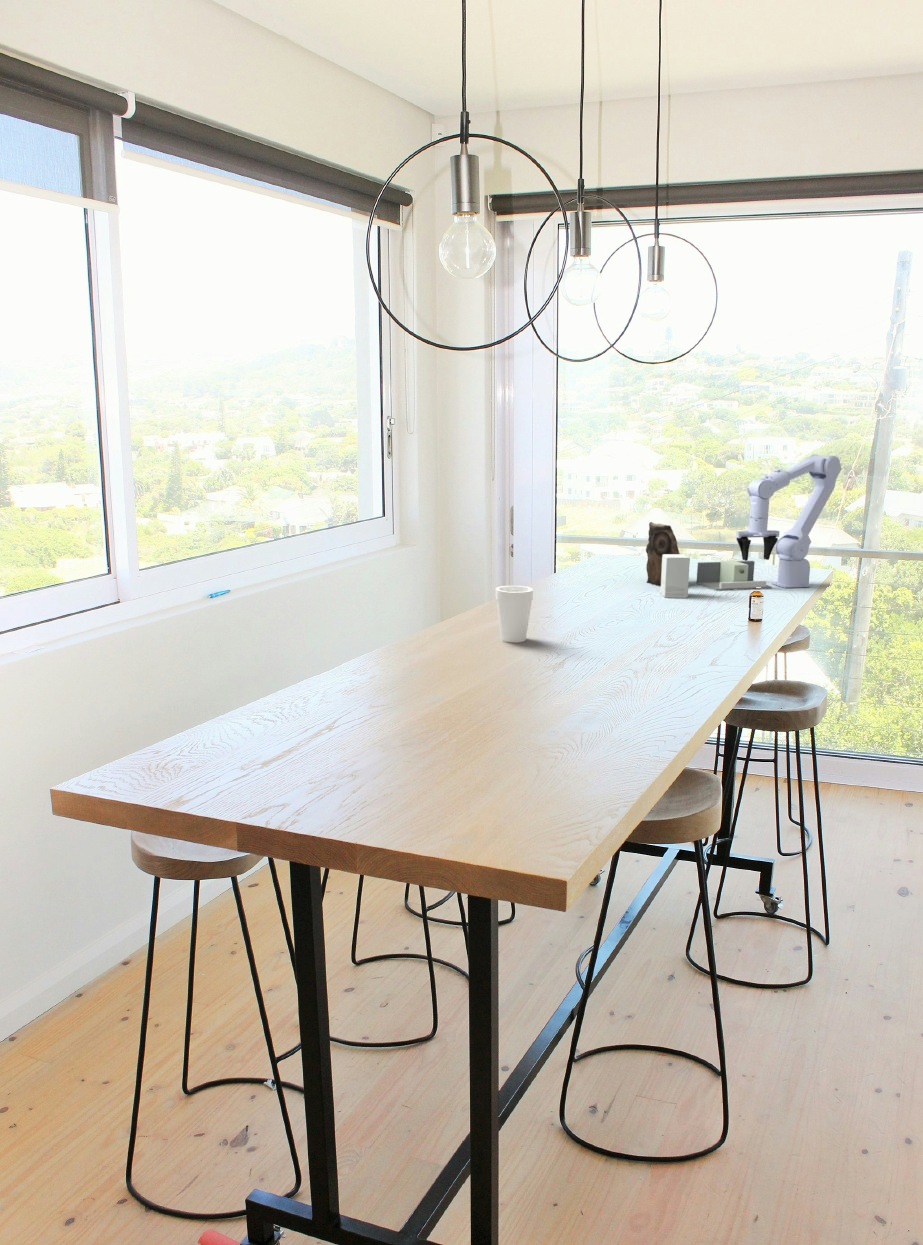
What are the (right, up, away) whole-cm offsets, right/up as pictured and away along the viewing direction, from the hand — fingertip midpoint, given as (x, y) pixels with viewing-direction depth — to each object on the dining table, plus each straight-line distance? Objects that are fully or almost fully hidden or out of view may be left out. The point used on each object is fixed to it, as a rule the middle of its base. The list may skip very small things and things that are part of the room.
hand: (755, 559), depth 328 cm
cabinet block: (-5, -8, +7) cm, 12 cm away
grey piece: (-5, -8, +6) cm, 12 cm away
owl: (-27, -8, +10) cm, 29 cm away
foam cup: (-81, -25, -70) cm, 110 cm away
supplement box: (-29, -12, -11) cm, 33 cm away
